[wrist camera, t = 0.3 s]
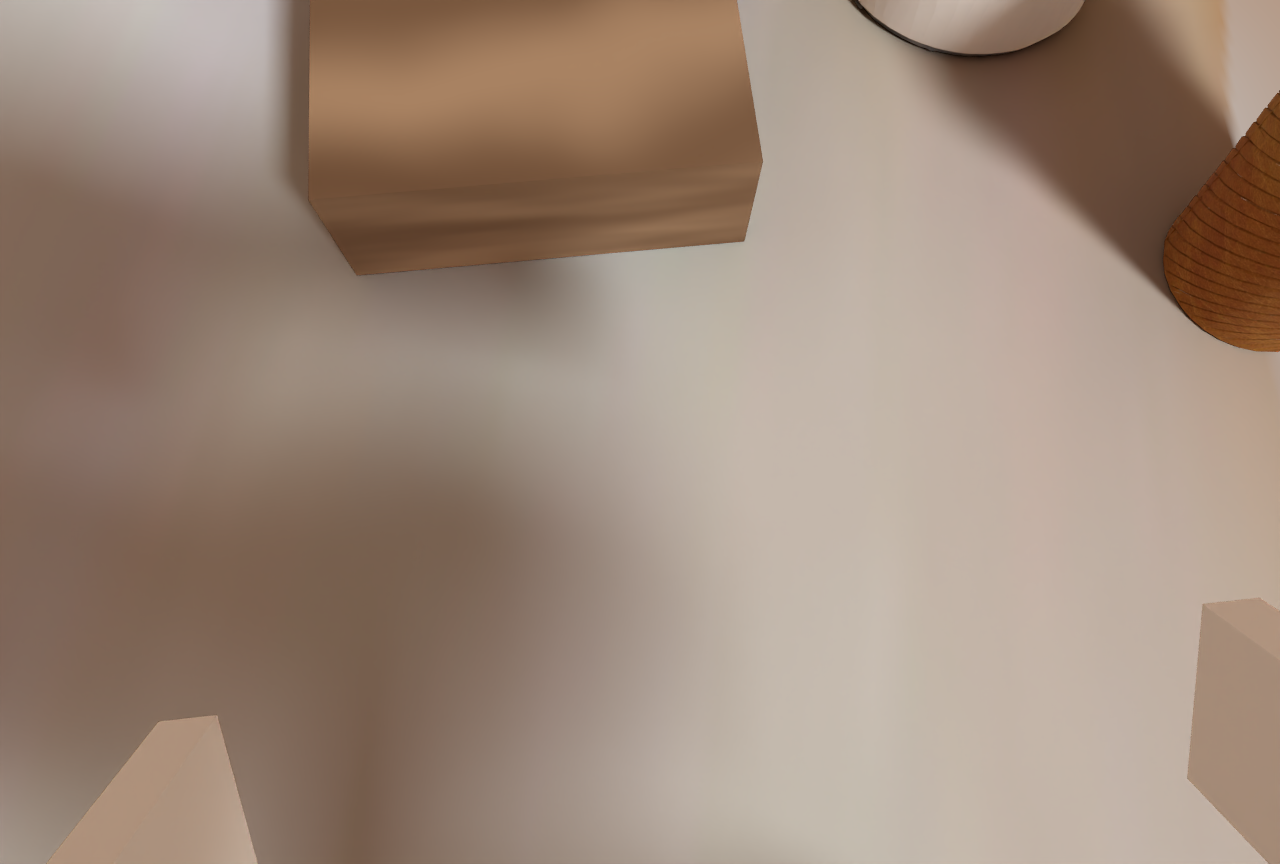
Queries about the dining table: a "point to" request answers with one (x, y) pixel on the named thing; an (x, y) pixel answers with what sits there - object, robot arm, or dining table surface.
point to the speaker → (972, 22)
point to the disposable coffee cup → (1234, 243)
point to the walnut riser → (527, 128)
